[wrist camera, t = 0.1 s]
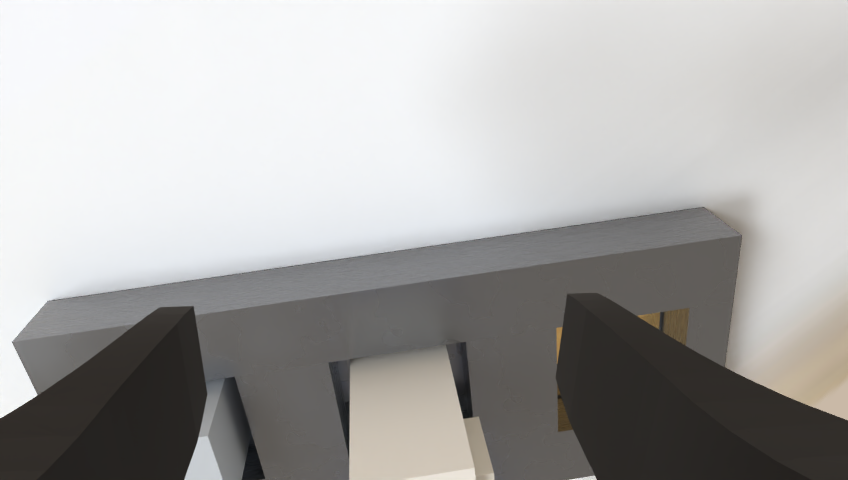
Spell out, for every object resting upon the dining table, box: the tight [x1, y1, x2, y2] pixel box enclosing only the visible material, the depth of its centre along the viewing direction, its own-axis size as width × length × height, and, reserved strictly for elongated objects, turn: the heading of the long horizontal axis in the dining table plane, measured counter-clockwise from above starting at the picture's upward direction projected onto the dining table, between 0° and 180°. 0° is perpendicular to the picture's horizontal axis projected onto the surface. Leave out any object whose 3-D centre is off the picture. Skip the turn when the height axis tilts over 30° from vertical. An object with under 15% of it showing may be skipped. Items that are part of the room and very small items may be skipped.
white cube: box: [184, 377, 251, 480], centre depth 22 cm, size 4×4×4 cm
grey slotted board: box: [12, 207, 742, 480], centre depth 23 cm, size 10×24×2 cm, turn 96°
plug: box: [349, 345, 494, 480], centre depth 21 cm, size 4×4×7 cm
